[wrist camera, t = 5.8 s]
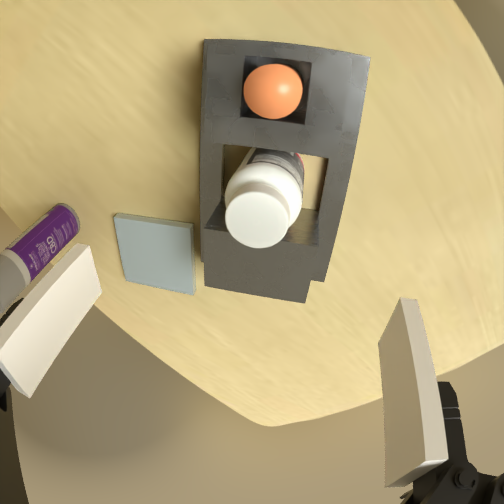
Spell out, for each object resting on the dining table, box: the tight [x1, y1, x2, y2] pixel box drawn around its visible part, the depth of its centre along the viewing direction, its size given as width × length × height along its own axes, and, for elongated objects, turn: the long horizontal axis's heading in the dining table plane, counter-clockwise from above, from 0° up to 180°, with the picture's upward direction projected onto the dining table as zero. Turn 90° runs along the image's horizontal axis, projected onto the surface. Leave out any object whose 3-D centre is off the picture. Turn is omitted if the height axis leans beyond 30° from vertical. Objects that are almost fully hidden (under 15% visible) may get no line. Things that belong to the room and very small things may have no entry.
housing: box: [200, 39, 370, 303], centre depth 25 cm, size 22×13×6 cm, turn 176°
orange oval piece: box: [244, 63, 304, 119], centre depth 19 cm, size 3×3×5 cm
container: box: [0, 203, 80, 313], centre depth 29 cm, size 5×5×15 cm
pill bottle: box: [225, 147, 304, 248], centre depth 23 cm, size 5×5×10 cm
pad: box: [114, 213, 196, 295], centre depth 35 cm, size 9×9×1 cm
